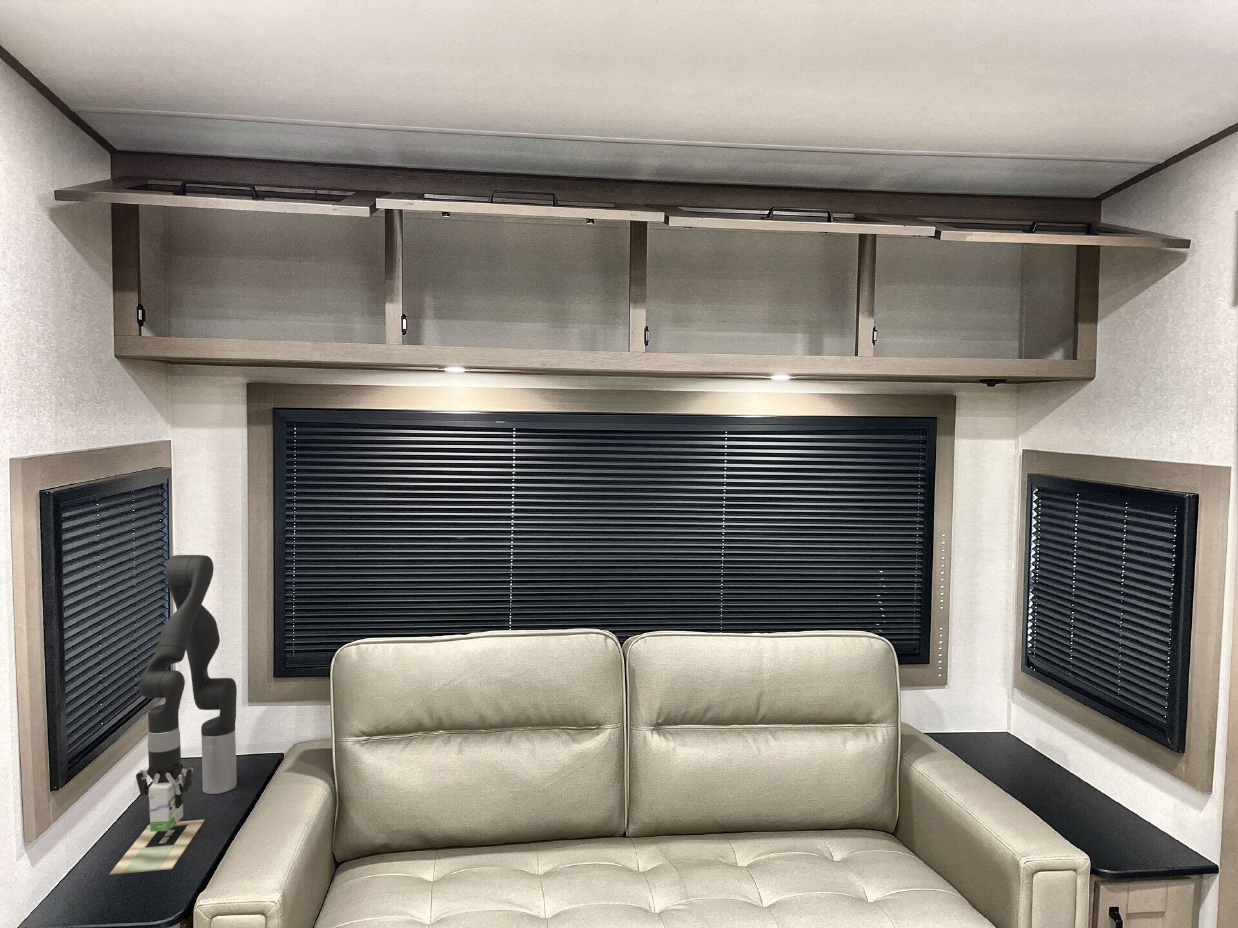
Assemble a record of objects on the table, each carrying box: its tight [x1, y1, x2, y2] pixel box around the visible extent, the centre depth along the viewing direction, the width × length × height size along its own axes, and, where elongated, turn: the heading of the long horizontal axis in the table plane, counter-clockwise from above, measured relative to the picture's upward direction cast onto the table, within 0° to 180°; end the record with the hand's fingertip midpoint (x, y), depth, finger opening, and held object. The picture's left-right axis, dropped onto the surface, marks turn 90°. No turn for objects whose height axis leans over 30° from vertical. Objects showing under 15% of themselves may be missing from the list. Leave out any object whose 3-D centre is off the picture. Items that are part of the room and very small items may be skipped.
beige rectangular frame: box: [109, 819, 205, 875], centre depth 216 cm, size 26×14×1 cm, turn 10°
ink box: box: [148, 774, 184, 832], centre depth 221 cm, size 8×5×12 cm, turn 3°
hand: (166, 807), depth 221 cm, fingers closed on ink box, 5 cm apart
